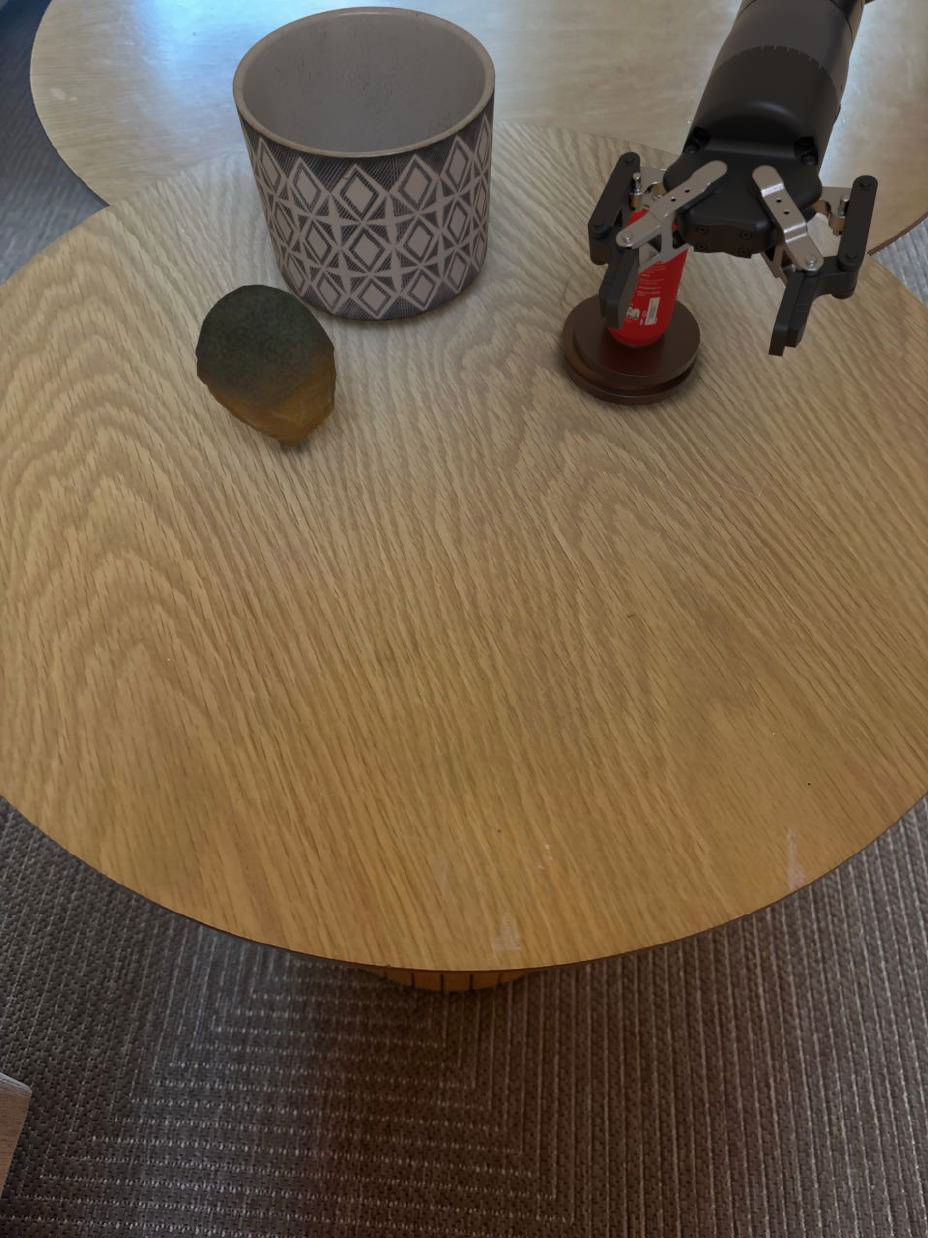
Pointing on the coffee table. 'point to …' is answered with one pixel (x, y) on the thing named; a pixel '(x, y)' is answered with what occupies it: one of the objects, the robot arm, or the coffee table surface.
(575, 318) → the disc pile
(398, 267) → the planter
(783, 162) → the robot arm
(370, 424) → the coffee table surface
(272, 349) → the decorative stone
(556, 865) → the coffee table surface
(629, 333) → the beverage can
